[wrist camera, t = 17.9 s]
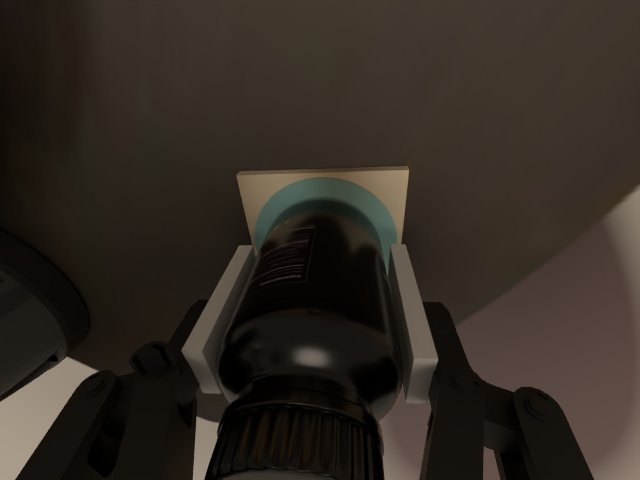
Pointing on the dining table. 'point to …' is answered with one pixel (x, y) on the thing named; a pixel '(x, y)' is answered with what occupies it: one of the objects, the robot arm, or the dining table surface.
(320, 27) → the dining table surface
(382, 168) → the board
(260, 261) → the supplement bottle
